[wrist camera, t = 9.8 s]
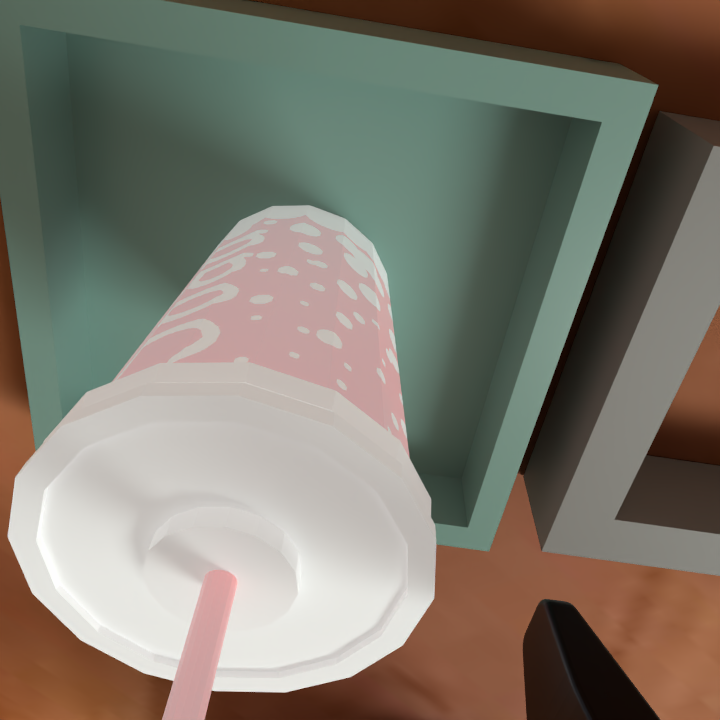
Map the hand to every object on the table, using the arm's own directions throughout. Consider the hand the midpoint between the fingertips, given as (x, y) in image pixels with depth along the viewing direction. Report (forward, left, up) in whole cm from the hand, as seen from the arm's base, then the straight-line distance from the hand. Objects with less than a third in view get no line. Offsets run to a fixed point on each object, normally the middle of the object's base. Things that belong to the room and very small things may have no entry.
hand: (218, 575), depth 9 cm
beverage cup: (0, 0, -10) cm, 10 cm away
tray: (0, 0, -10) cm, 10 cm away
